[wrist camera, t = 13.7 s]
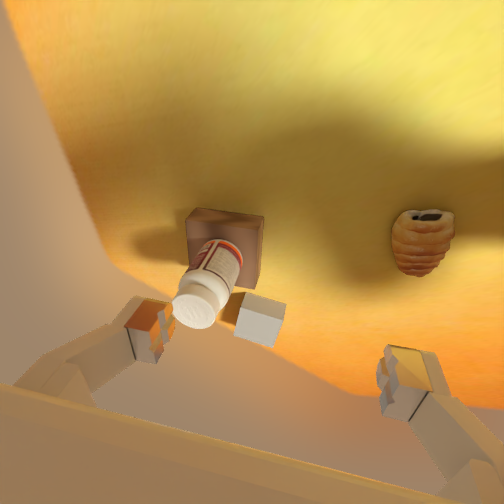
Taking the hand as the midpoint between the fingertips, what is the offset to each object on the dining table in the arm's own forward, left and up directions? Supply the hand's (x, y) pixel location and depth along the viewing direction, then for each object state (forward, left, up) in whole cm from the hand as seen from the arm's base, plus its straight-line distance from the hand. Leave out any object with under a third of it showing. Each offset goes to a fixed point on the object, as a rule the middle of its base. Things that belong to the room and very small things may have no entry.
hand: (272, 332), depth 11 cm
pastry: (-15, +10, -30) cm, 35 cm away
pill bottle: (+10, +15, -25) cm, 31 cm away
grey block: (+4, +28, -29) cm, 41 cm away
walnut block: (+10, +15, -29) cm, 34 cm away
